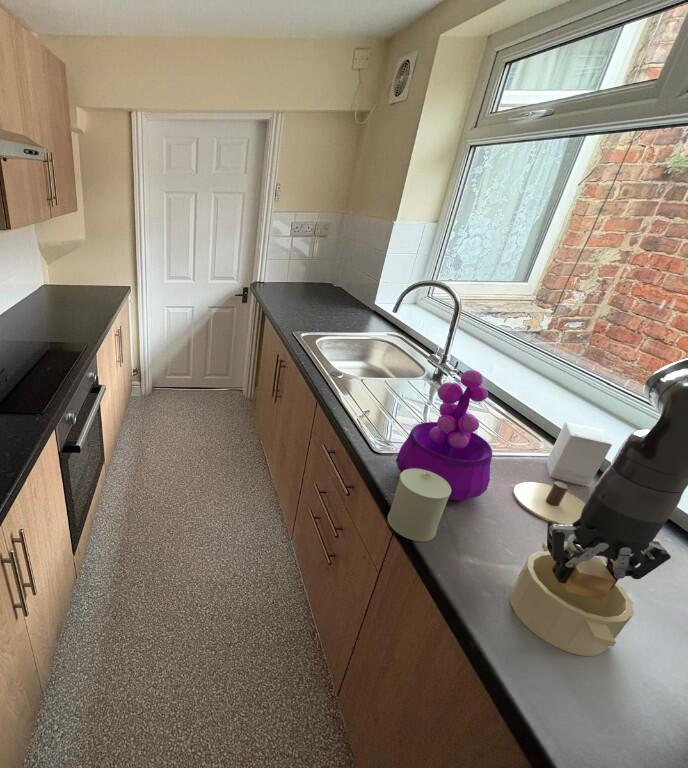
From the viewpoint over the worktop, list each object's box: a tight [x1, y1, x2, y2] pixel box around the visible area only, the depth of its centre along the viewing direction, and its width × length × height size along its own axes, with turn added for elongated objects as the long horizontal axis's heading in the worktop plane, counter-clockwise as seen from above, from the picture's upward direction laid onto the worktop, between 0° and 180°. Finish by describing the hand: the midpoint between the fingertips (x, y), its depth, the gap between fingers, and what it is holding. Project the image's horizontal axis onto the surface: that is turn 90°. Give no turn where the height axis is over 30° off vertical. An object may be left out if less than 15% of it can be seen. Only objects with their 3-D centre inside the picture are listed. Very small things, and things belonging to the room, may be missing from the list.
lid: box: [512, 480, 586, 525], centre depth 91 cm, size 14×14×6 cm
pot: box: [509, 542, 634, 657], centre depth 68 cm, size 13×18×8 cm
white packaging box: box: [545, 421, 613, 488], centre depth 99 cm, size 7×7×13 cm
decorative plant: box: [395, 369, 493, 501], centre depth 93 cm, size 19×18×30 cm
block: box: [563, 553, 615, 600], centre depth 65 cm, size 4×4×4 cm
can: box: [387, 468, 451, 542], centre depth 86 cm, size 9×9×12 cm
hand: (578, 582), depth 66 cm, fingers closed on block, 4 cm apart
